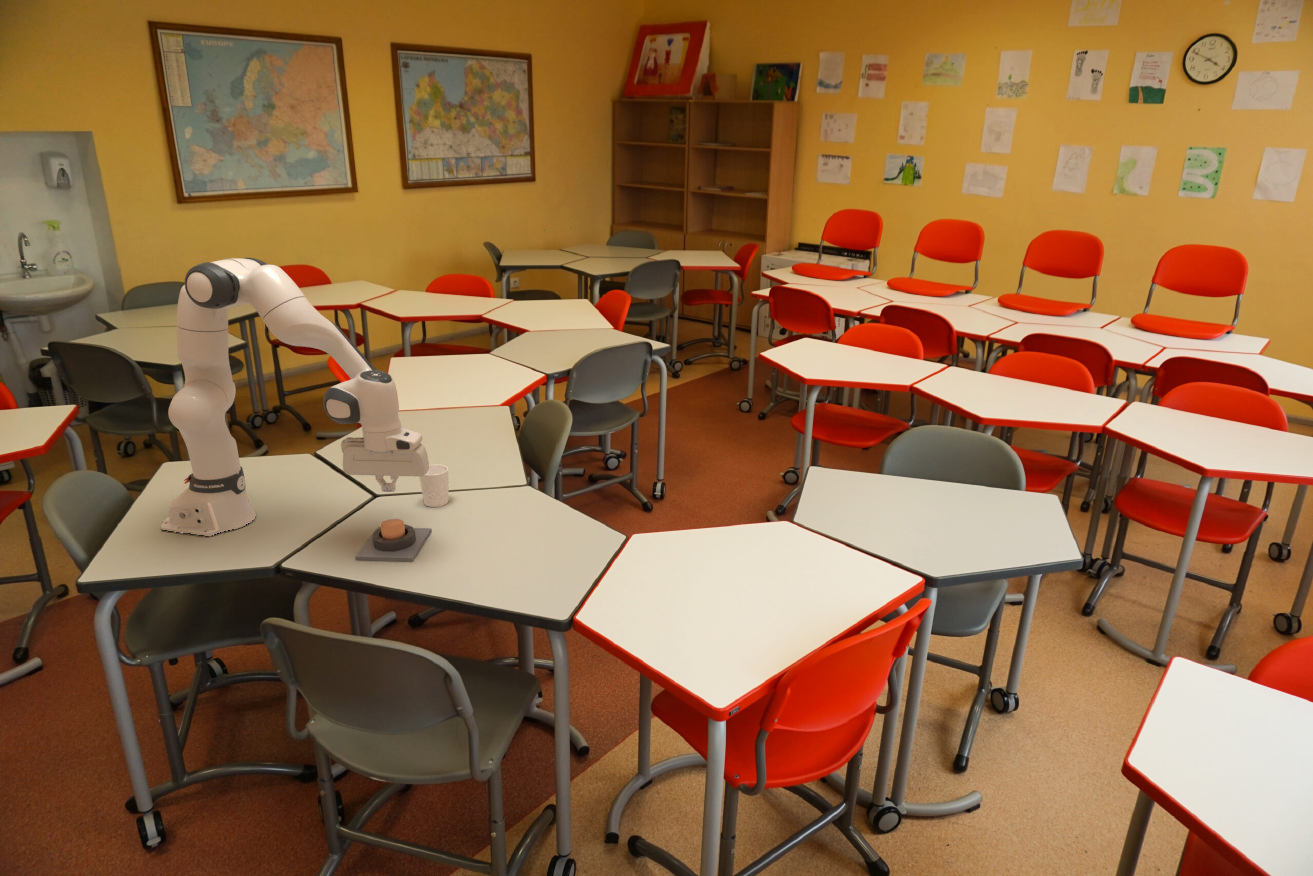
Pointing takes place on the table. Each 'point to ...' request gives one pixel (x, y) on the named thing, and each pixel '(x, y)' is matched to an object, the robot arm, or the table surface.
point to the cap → (392, 529)
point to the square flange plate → (394, 546)
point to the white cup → (435, 486)
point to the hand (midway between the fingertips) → (388, 490)
